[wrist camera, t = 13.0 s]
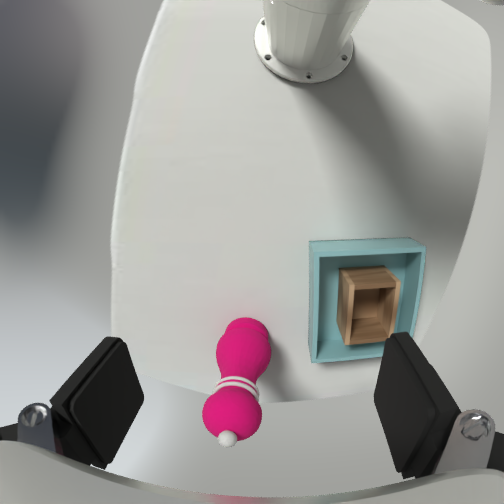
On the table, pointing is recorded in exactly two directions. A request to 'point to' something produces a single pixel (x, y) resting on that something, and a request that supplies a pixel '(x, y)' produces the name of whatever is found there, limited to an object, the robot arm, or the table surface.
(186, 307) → the table surface
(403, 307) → the big crate
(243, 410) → the pepper mill
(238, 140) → the table surface
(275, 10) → the robot arm
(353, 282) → the small crate
